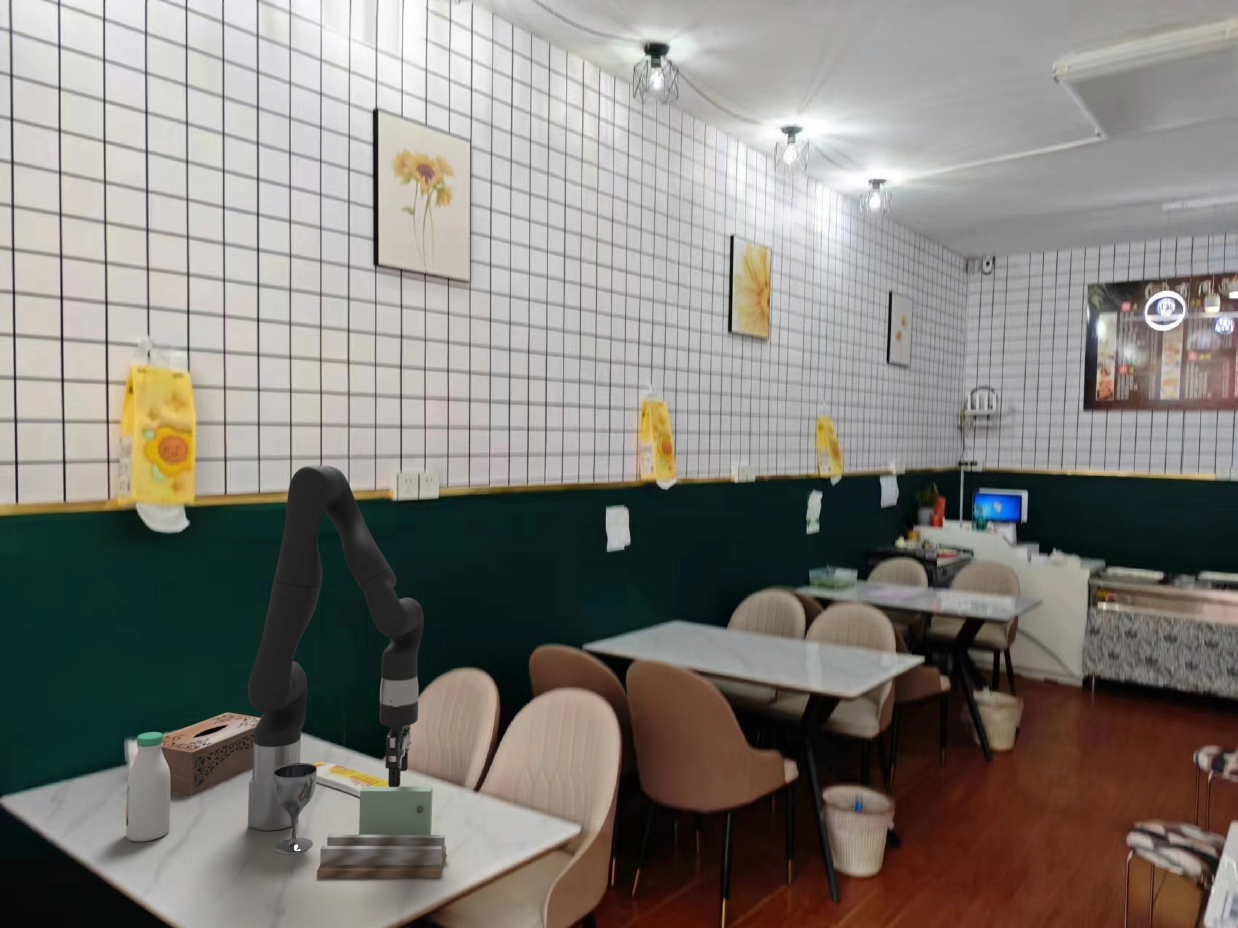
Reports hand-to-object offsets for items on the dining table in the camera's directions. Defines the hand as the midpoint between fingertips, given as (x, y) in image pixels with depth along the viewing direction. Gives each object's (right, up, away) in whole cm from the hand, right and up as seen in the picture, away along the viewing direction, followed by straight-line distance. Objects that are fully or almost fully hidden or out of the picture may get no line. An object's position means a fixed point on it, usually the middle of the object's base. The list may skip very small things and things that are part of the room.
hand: (398, 778), depth 179 cm
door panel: (-1, -12, 0) cm, 12 cm away
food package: (-20, -12, +28) cm, 36 cm away
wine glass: (-19, -12, -5) cm, 23 cm away
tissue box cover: (-53, -10, +32) cm, 63 cm away
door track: (0, -12, -12) cm, 17 cm away
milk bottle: (-50, -11, -2) cm, 51 cm away
